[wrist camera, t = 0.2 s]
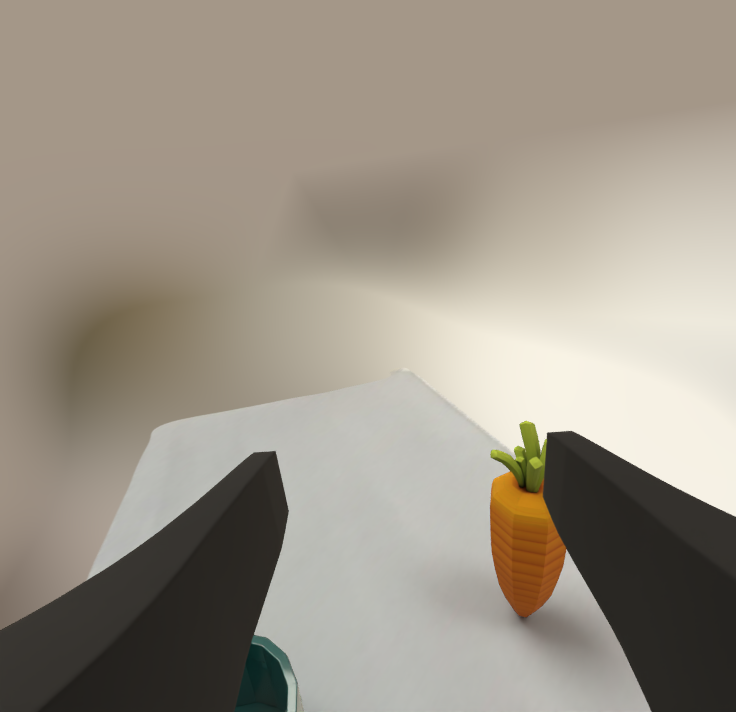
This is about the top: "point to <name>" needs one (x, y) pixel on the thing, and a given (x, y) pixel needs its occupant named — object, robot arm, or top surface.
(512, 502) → the carrot
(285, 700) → the mug
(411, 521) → the top surface
